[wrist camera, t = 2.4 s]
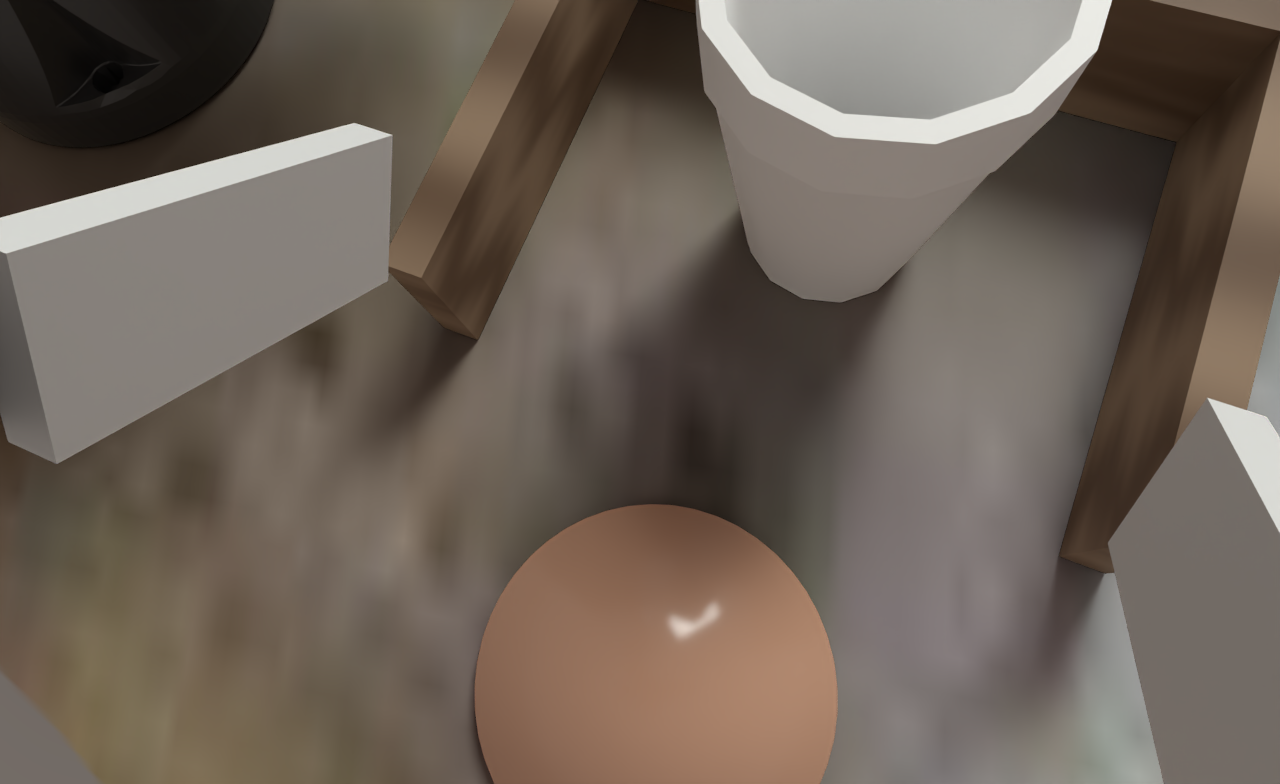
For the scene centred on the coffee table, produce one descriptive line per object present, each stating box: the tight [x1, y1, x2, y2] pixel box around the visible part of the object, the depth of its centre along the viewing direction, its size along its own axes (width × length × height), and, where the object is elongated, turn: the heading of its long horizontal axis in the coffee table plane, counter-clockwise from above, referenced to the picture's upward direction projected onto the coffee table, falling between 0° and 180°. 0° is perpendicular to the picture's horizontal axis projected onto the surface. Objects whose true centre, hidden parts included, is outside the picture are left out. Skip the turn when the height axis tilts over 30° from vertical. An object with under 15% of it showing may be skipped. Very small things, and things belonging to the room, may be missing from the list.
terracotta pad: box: [475, 504, 837, 784], centre depth 27 cm, size 12×12×1 cm
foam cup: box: [696, 0, 1112, 303], centre depth 25 cm, size 10×9×13 cm
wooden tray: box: [388, 0, 1280, 573], centre depth 28 cm, size 18×25×6 cm
